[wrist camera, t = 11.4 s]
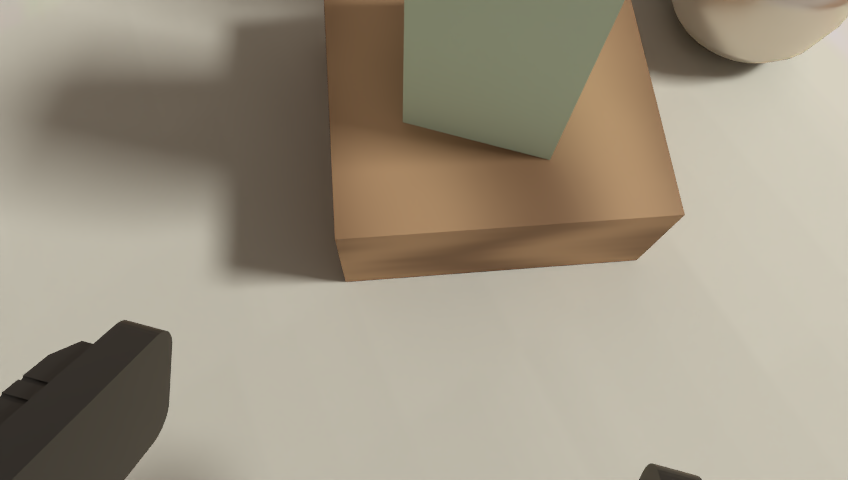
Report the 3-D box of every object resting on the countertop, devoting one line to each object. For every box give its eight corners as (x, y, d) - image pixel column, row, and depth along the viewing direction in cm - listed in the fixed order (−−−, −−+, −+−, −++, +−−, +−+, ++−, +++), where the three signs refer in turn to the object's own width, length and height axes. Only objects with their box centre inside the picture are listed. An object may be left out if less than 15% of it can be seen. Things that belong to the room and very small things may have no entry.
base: (345, 281, 22) (334, 239, 18) (333, 35, 25) (322, -43, 21) (636, 260, 22) (684, 214, 19) (585, 22, 26) (617, -56, 22)
